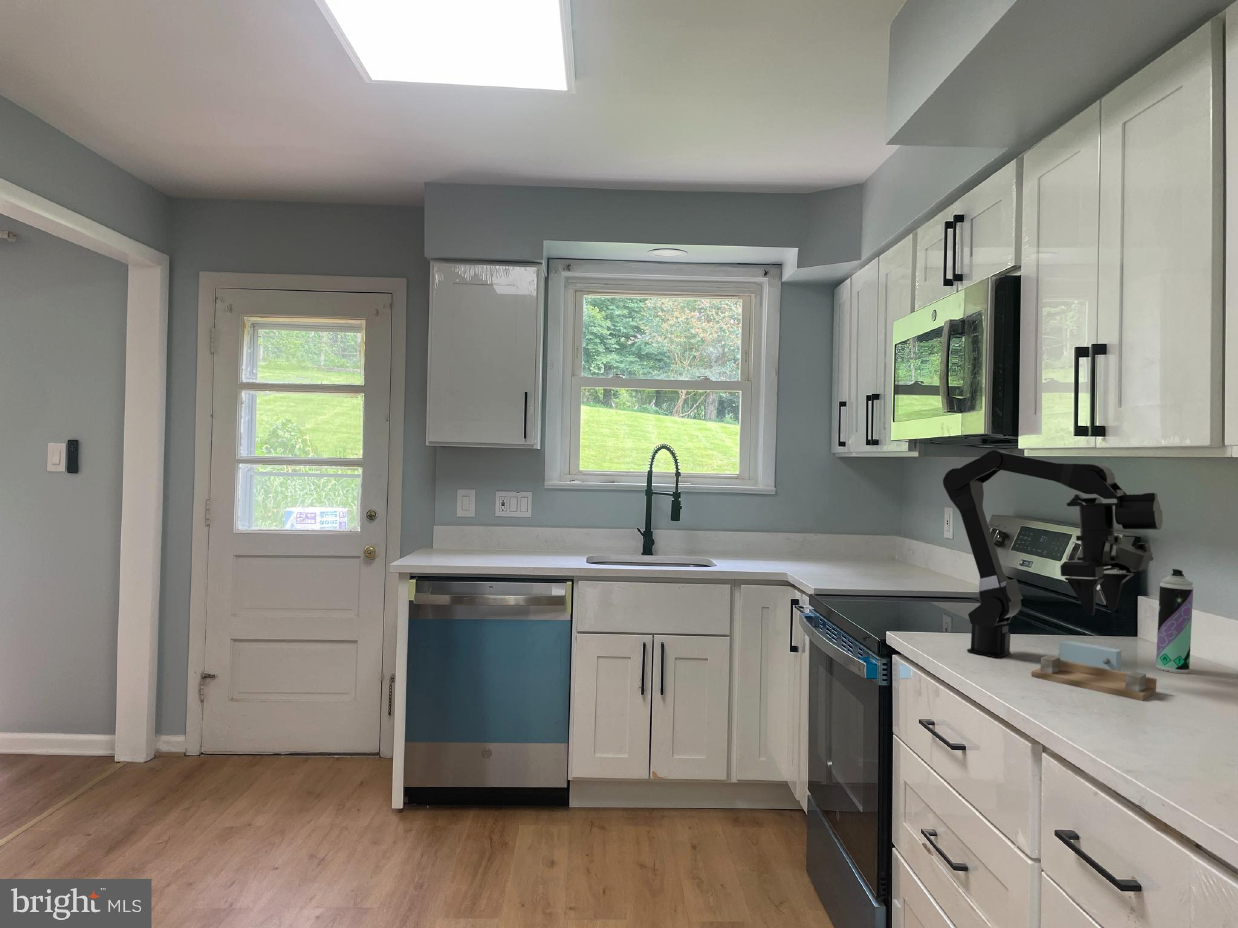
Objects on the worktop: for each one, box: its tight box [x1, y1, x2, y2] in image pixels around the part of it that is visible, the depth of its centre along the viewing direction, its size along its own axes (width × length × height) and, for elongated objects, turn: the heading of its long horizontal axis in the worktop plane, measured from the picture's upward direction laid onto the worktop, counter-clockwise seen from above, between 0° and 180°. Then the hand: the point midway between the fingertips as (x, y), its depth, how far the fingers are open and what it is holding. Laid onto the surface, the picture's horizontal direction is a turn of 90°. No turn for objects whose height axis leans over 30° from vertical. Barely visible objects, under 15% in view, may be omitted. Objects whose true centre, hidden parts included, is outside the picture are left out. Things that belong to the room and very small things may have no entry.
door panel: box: [1058, 639, 1122, 672], centre depth 158 cm, size 10×4×5 cm, turn 43°
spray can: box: [1155, 568, 1194, 674], centre depth 162 cm, size 6×6×20 cm
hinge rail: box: [1030, 654, 1157, 701], centre depth 148 cm, size 18×8×4 cm, turn 43°
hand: (1101, 612), depth 155 cm, fingers open, 9 cm apart
